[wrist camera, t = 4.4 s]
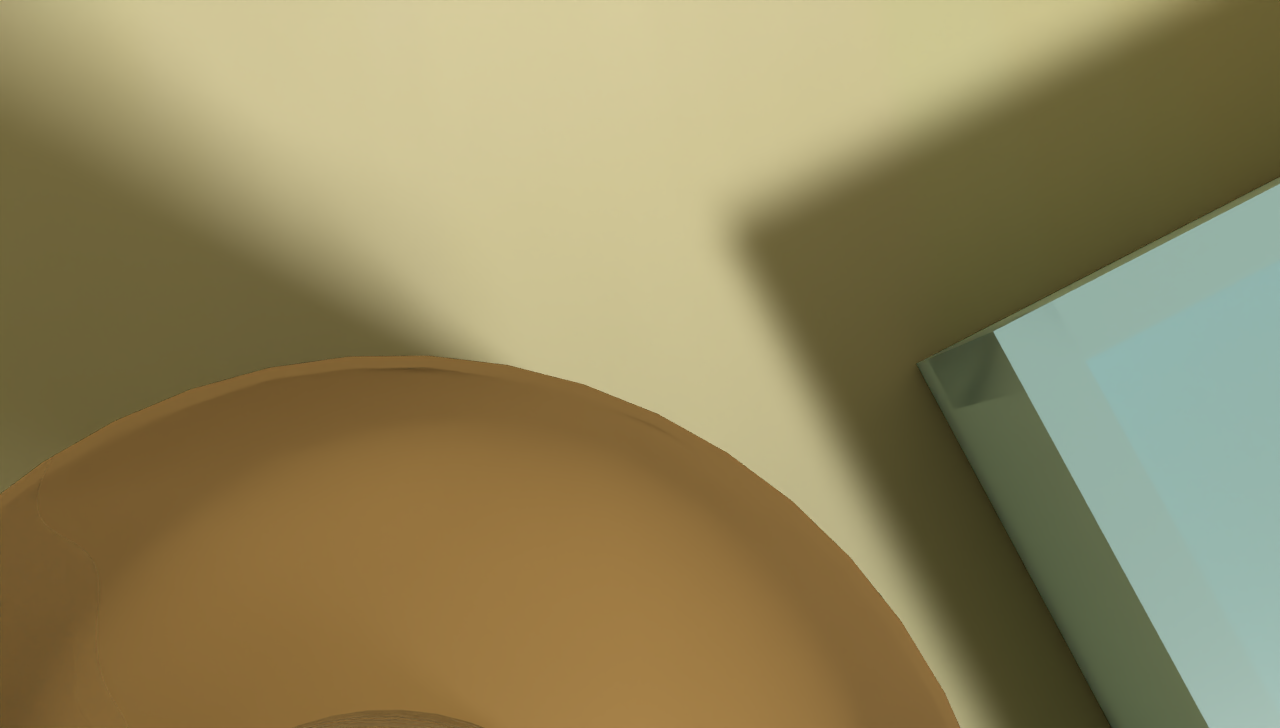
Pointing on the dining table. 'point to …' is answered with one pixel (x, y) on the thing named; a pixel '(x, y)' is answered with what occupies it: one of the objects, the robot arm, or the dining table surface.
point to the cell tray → (1145, 465)
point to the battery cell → (430, 568)
